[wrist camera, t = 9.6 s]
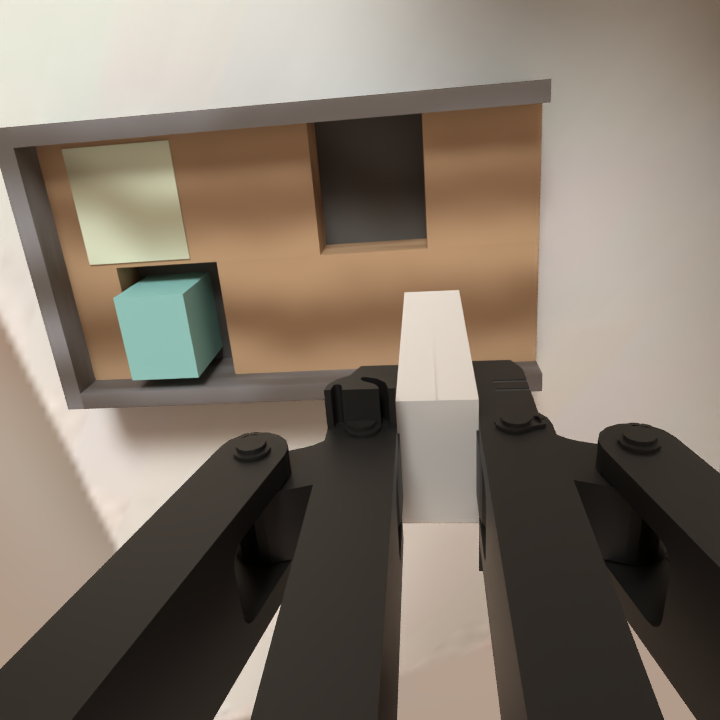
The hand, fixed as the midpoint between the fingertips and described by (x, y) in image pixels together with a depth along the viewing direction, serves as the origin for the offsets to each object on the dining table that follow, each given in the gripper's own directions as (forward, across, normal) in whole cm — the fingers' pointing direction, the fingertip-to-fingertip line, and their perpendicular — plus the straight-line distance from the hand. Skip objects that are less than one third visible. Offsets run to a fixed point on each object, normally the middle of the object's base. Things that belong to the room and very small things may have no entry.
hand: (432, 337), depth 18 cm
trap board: (+21, -8, -2) cm, 22 cm away
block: (+18, -14, -6) cm, 23 cm away
